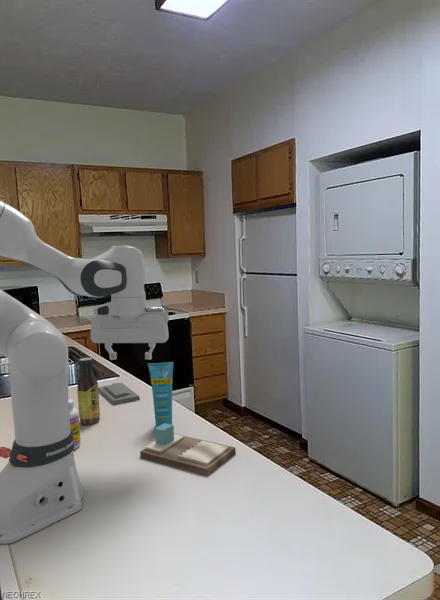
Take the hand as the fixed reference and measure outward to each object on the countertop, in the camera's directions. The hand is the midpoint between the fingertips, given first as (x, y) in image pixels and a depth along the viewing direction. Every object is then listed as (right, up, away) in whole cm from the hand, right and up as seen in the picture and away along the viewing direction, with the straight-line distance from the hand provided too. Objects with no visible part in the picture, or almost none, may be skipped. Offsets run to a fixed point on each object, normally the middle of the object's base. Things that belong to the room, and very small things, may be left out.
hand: (130, 359), depth 123 cm
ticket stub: (+9, -22, -1) cm, 24 cm away
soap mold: (-14, -20, +47) cm, 53 cm away
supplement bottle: (-18, -25, +3) cm, 30 cm away
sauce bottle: (-17, -22, +22) cm, 35 cm away
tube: (+7, -22, +16) cm, 28 cm away
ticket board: (+15, -24, -5) cm, 29 cm away
